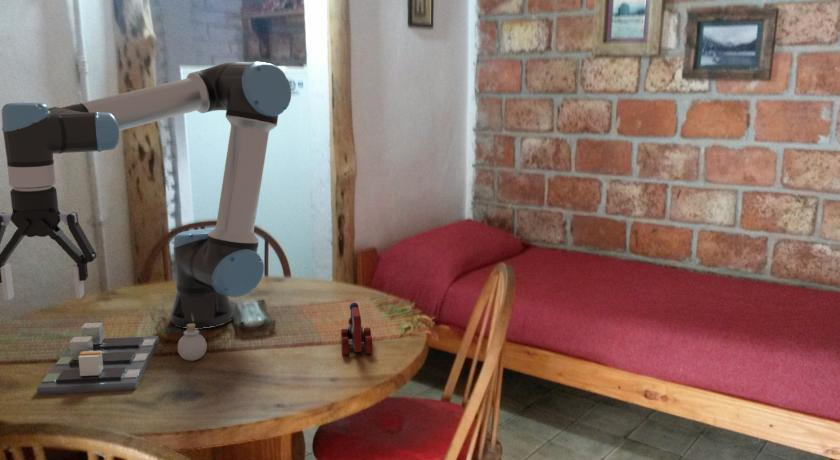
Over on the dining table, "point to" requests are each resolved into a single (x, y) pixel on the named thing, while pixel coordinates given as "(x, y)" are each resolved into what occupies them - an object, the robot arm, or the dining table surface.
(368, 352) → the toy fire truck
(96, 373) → the knob
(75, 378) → the panel
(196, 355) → the ornament
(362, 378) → the dining table surface
